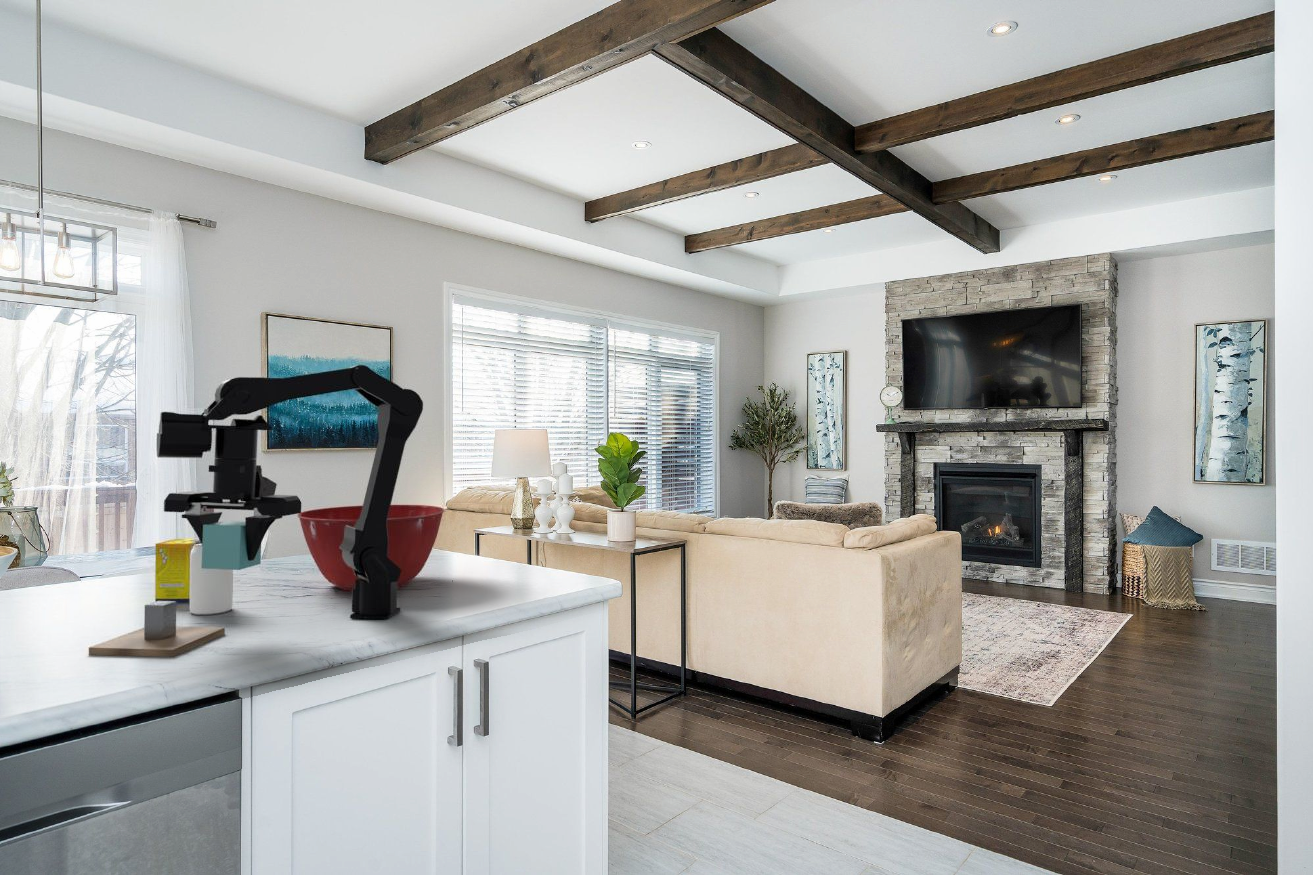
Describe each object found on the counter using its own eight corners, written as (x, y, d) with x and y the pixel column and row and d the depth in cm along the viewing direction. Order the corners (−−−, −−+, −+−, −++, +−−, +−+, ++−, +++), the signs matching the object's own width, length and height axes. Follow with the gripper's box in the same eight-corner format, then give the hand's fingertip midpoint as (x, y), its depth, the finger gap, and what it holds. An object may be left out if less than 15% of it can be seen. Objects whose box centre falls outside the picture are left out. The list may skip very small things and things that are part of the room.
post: (175, 634, 113) (176, 601, 113) (163, 639, 110) (163, 605, 110) (157, 634, 113) (158, 600, 113) (144, 639, 110) (144, 605, 110)
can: (213, 616, 128) (213, 545, 128) (180, 614, 129) (181, 544, 129) (241, 608, 134) (242, 540, 134) (209, 605, 135) (210, 539, 135)
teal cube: (260, 563, 120) (262, 522, 120) (239, 569, 114) (240, 526, 114) (224, 562, 120) (226, 520, 120) (201, 568, 114) (203, 524, 114)
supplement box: (171, 596, 143) (172, 538, 143) (205, 596, 143) (205, 538, 143) (153, 603, 137) (154, 543, 137) (188, 603, 137) (189, 543, 137)
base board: (224, 634, 117) (224, 627, 117) (172, 656, 105) (172, 649, 105) (149, 632, 118) (149, 625, 118) (88, 654, 106) (88, 647, 106)
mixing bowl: (290, 604, 138) (291, 519, 138) (302, 576, 164) (302, 504, 164) (450, 594, 148) (451, 515, 148) (437, 569, 174) (438, 502, 174)
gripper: (319, 460, 125) (316, 554, 125) (209, 455, 126) (205, 550, 125) (284, 461, 114) (280, 565, 114) (163, 457, 114) (159, 560, 114)
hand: (231, 559), depth 117 cm, fingers closed on teal cube, 6 cm apart
